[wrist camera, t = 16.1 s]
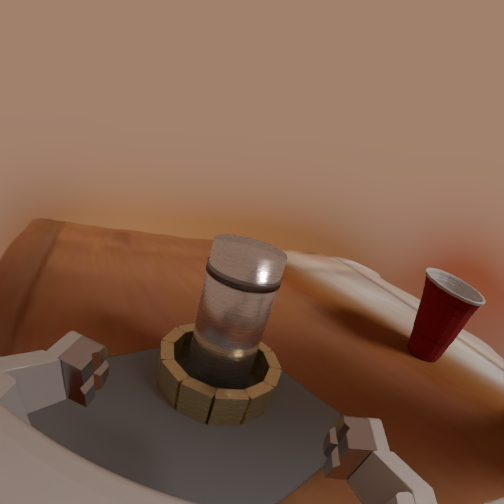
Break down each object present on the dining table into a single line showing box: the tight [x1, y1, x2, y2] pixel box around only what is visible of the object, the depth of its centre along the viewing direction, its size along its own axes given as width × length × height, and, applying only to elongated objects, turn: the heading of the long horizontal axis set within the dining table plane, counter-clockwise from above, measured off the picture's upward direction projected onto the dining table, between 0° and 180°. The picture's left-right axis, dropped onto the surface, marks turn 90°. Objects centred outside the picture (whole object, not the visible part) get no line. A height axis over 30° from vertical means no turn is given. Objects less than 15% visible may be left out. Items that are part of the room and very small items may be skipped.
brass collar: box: [157, 323, 282, 426], centre depth 23 cm, size 10×10×3 cm
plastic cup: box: [408, 268, 485, 362], centre depth 38 cm, size 11×11×12 cm
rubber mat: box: [27, 347, 342, 504], centre depth 19 cm, size 23×17×1 cm
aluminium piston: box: [186, 235, 287, 390], centre depth 22 cm, size 5×5×12 cm
